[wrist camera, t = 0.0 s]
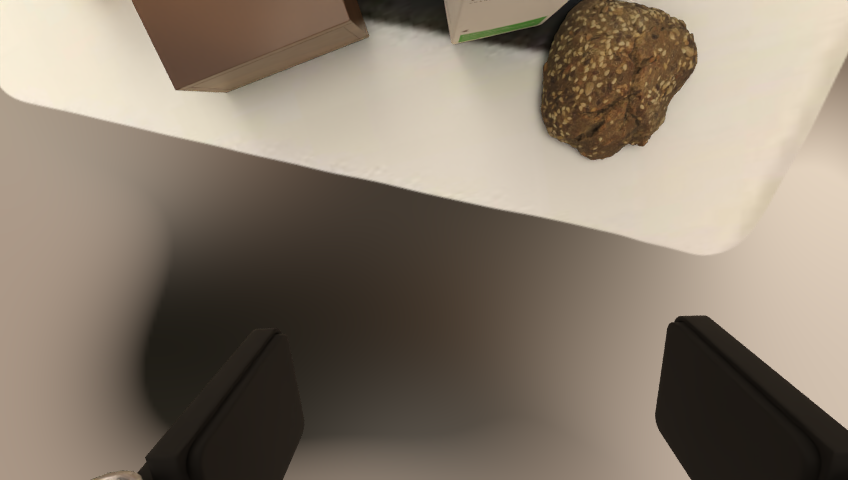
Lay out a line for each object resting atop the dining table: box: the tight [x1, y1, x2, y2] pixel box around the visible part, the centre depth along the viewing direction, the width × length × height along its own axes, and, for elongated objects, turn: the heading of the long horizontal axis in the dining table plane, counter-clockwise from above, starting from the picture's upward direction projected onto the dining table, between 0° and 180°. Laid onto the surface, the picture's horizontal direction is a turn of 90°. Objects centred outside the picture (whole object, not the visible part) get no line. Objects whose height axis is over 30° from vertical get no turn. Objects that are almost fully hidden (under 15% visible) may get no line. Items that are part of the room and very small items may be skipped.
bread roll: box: [541, 0, 697, 160], centre depth 34 cm, size 13×12×5 cm
